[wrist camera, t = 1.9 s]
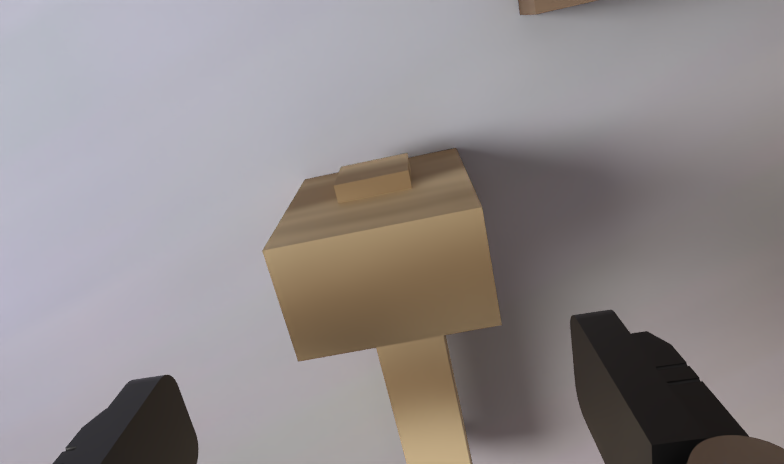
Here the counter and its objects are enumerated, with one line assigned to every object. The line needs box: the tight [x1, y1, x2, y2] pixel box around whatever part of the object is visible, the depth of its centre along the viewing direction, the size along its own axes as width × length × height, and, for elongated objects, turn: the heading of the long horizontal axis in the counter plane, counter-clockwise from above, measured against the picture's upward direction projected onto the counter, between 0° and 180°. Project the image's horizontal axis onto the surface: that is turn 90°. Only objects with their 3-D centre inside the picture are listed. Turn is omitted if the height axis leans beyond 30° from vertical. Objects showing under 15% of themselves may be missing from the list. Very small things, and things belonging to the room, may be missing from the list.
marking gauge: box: [263, 148, 502, 464], centre depth 17 cm, size 12×5×6 cm, turn 12°
